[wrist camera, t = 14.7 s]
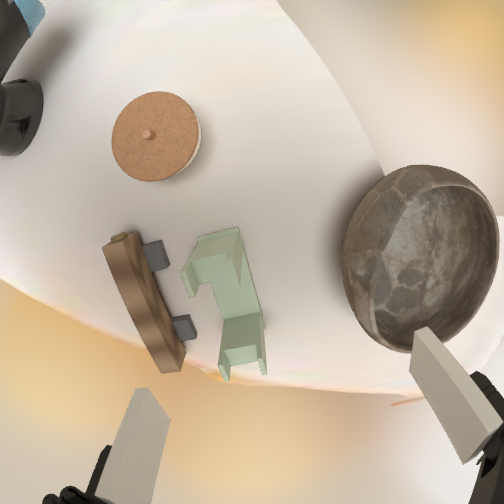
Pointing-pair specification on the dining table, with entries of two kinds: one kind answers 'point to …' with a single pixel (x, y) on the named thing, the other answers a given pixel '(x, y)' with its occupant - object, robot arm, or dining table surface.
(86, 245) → the dining table surface
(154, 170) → the lidded jar
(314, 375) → the dining table surface
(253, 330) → the rack
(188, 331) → the rests
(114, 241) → the rail
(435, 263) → the bowl
